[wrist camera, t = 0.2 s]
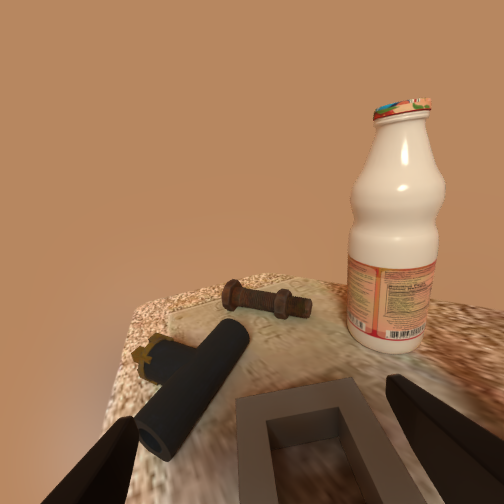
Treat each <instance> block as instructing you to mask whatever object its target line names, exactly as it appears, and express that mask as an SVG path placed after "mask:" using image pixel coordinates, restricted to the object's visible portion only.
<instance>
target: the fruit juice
mask: <svg viewBox="0 0 504 504" xmlns="http://www.w3.org/2000/svg"><path fill="white" fill-rule="evenodd" d="M430 110H431V99H430V98H419V99H412V100H407V101H401V102H397V103H393V104H389V105H385V106H382V107H379V108H377V109H376V110H375V112H374V117H373V121H374V127H375V128H376V134H375V138H374V140H373V143H372V145H371V148H370V151H369V154H368V157H367V159H366V162H365V164H364V167H363V169H362V171H361V173H360V175H359V176H358V178H357V180H356V181H355V183H354V185H353V187H352V190H351V197H350V203H351V208H352V212H353V215H354V222H353V225H352V227H351V229H350V233H349V241H348V278H347V279H348V280H347V326H348V329H349V332H350V333H351V335H352V336H353V337H354V338H355V339H356V340H357V341H358V342H359V343H361V344H362V345H364V346H366V347H367V348H370V349H372V350H375V351H378V352H382V353H387V354H404V353H408V352H411V351H413V350H415V349H416V348H417V347H418V346H419V345H420V344H421V342H422V340H423V337H424V332H425V326H426V320H427V313H428V307H429V301H430V295H431V289H432V282H433V276H434V270H435V264H436V259H437V254H438V244H439V235H438V230H437V228H436V224H435V220H436V216H437V214H438V212H439V210H440V208H441V206H442V204H443V201H444V198H445V190H446V186H445V181H444V179H443V177H442V175H441V174H440V172H439V170H438V168H437V166H436V163H435V160H434V157H433V154H432V150H431V146H430V143H429V139H428V135H427V131H426V127H425V121H426V119H427V118H428V117H429V113H430Z"/></svg>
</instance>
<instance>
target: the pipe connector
mask: <svg viewBox="0 0 504 504" xmlns="http://www.w3.org/2000/svg"><path fill="white" fill-rule="evenodd" d="M148 340H149V342H150V343H149V344H148V345H147V346H146V347H145V348H144V347H141V346H139V347H138V348H137V349H136V350H135V351H133V352H132V353H131V355H132V358H133V360H134V362H136V363H138V364H139V365H138V369H137V371H138V373H139V376H140V377H141V378H143V379H145V380H147V381H149V382H151V383H153V384H155V385H158V384H160V385H162V387H161V388H160V389H159V390H158V391H157V392H156V394H155V395H154V396H153V397H152V398H151V399H150V400H149V401H148V402H147V403H146V405H145V406H144V407H143V408H142V409H141V410H140V411H139V412H138V413H137V414H136V416H135V417H134V420H135V422H136V425H137V427H138V430H139V434H140V437H139V441H140V442H141V443H142V445H143V446H144V447H145V448H146V449H147V450H148V451H150V452H151V453H153V454H154V455H156V456H157V457H159V458H160V459H162V460H163V461H165V462H169V461H170V460H171V459H172V457H173V456H174V454H175V453H176V451H177V450H178V448H179V447H180V445H181V444H182V442H183V441H184V439H185V438H186V436H187V435H188V433H189V432H190V430H191V429H192V427H193V426H194V424H195V423H196V421H197V420H198V418H199V417H200V415H201V414H202V412H203V411H204V409H205V408H206V406H207V405H208V403H209V402H210V401H211V399H212V398H213V396H214V395H215V393H216V392H217V390H218V389H219V387H220V386H221V384H222V383H223V381H224V380H225V378H226V377H227V375H228V374H229V372H230V371H231V369H232V368H233V366H234V365H235V363H236V362H237V360H238V359H239V357H240V356H241V354H242V353H243V351H244V350H245V348H246V347H247V345H248V344H249V334H248V332H247V330H246V329H245V328H244V326H243V325H242V324H240V323H239V322H238V321H236V320H233V319H224V320H222V321H221V322H220V323H219V324H218V325H217V326H216V328H215V329H214V330H213V331H212V332H211V333H210V334H209V335H208V336H207V337H206V339H205V340H204V341H203V342H202V343H201V344H200V345H199V346H198V347H197V348H193V347H190V346H187V345H184V344H181V343H178V342H175V341H174V339H173V338H171V337H168V336H165V335H162V334H159V333H155V334H154V335H153V336H151V337H150V338H149V339H148Z"/></svg>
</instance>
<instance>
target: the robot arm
mask: <svg viewBox="0 0 504 504" xmlns="http://www.w3.org/2000/svg"><path fill="white" fill-rule="evenodd" d="M386 397H387V400H388V402H389V404H390V406H391V408H392V410H393V412H394V414H395V416H396V418H397V420H398V422H399V424H400V426H401V428H402V430H403V432H404V434H405V436H406V438H407V440H408V442H409V444H410V446H411V448H412V449H413V451H414V453H415V455H416V456H417V458H418V460H419V461H420V463H421V465H422V466H423V468H424V470H425V471H426V473H427V474H428V476H429V478H430V479H431V481H432V483H433V484H434V486H435V488H436V489H437V491H438V492H439V494H440V496H441V497H442V499H443V501H444V502H445V504H504V441H503V440H502V439H500V438H499V437H497V436H496V435H494V434H492V433H491V432H489V431H488V430H486V429H485V428H483V427H482V426H480V425H478V424H477V423H475V422H474V421H472V420H471V419H469V418H467V417H466V416H464V415H463V414H461V413H460V412H458V411H457V410H455V409H453V408H452V407H450V406H449V405H447V404H446V403H444V402H443V401H441V400H439V399H438V398H436V397H435V396H433V395H432V394H430V393H429V392H427V391H425V390H424V389H422V388H421V387H419V386H418V385H416V384H414V383H413V382H411V381H410V380H408V379H407V378H405V377H404V376H402V375H400V374H393V375H388V376H387V378H386ZM139 437H140V434H139V430H138V427H137V425H136V422H135V420H134V418H133V417H132V416H126V417H121V418H119V419H118V420H117V421H116V422H115V423H114V424H113V425H112V426H111V427H110V428H109V430H108V431H107V432H106V433H105V434H104V435H103V436H102V437H101V438H100V439H99V440H98V442H97V443H96V444H95V445H94V446H93V447H92V448H91V449H90V450H89V451H88V452H87V454H86V455H85V456H84V457H83V458H82V459H81V460H80V461H79V462H78V463H77V464H76V466H75V467H74V468H73V469H72V470H71V471H70V472H69V473H68V474H67V475H66V477H64V479H63V480H62V481H61V482H60V483H59V484H58V485H57V486H56V487H55V488H54V489H53V491H52V492H51V493H50V494H49V495H48V496H47V497H46V498H45V499H44V500H43V502H42V503H41V504H125V501H126V497H127V493H128V489H129V485H130V480H131V475H132V471H133V466H134V461H135V457H136V452H137V448H138V443H139Z"/></svg>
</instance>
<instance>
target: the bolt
mask: <svg viewBox="0 0 504 504" xmlns="http://www.w3.org/2000/svg"><path fill="white" fill-rule="evenodd" d="M222 304H223V307H224V308H225V309H227V310H228V311H234V310H235V309H236V308H237V307H238V306H241V307H243V306H244V307H249V308H255V309H259V310H264V311H270V312H274V314H275V316H276V317H277V318H279V319H284V320H285V319H287V318H288V317H289V315H291V316H296V317H302V318H303V317H304V318H309V317H310V314H311V309H312V301H311V299H308V298H307V299H306V298H302V297H301V298H300V297H299V298H298V297H296V296H295V297H294V296H293V297H292V293H291V292H290V291H289V290H288V289H281V290H279V291H278V292H277V293H271V292H264V291H259V290H252V289H247V288H243V287H242V285H241V284H240V282H239V281H238V280H235V279H232V280H230V281H229V282H227V283H226V285H225V287H224V289H223V292H222Z"/></svg>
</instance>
